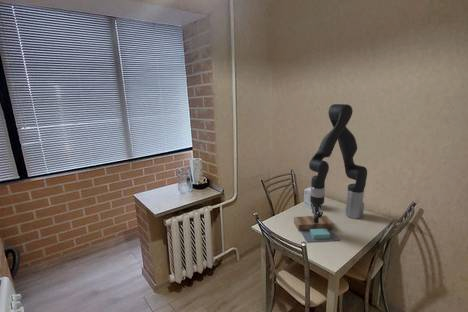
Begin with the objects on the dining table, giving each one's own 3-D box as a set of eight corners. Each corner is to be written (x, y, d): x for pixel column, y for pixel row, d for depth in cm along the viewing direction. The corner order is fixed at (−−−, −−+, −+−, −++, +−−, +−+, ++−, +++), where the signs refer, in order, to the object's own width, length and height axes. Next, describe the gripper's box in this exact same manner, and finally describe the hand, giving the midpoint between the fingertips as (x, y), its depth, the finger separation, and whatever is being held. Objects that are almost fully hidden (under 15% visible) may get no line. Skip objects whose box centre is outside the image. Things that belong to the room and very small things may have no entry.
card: (330, 234, 134) (330, 238, 135) (325, 228, 140) (325, 232, 141) (313, 235, 134) (313, 239, 135) (310, 229, 140) (309, 233, 141)
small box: (318, 207, 173) (319, 189, 170) (313, 210, 169) (314, 192, 166) (308, 203, 179) (309, 186, 176) (303, 206, 176) (304, 189, 173)
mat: (331, 230, 144) (331, 229, 144) (340, 240, 133) (340, 240, 133) (300, 231, 143) (300, 231, 143) (306, 242, 133) (306, 241, 132)
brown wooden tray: (325, 221, 154) (326, 215, 153) (332, 229, 144) (333, 223, 143) (293, 222, 153) (294, 216, 153) (298, 231, 144) (298, 224, 143)
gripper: (328, 198, 133) (327, 228, 137) (319, 189, 145) (318, 216, 149) (315, 199, 132) (313, 228, 136) (306, 190, 145) (305, 217, 149)
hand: (316, 222), depth 143 cm, fingers closed
